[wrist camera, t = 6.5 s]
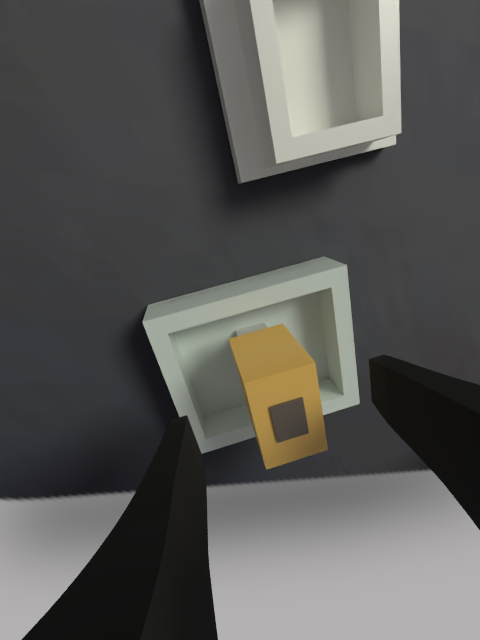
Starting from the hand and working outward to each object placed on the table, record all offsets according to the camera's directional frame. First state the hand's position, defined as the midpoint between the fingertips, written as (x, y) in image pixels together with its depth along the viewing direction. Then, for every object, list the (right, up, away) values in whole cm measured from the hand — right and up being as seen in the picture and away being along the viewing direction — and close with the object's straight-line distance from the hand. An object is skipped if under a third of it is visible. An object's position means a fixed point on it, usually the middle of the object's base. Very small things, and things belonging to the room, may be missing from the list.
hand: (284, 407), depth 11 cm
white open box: (+1, +13, +1) cm, 13 cm away
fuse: (-1, +2, +4) cm, 5 cm away
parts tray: (-1, +2, +5) cm, 5 cm away
